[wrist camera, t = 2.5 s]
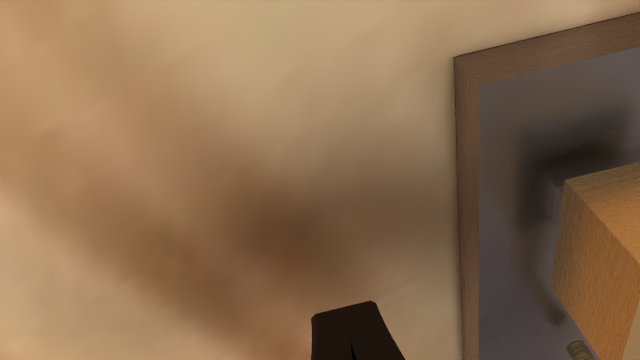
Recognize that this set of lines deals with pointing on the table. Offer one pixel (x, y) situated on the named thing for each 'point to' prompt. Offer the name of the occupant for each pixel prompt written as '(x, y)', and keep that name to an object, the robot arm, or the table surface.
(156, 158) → the table surface
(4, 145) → the table surface
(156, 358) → the table surface
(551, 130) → the plate
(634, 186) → the brass slider
